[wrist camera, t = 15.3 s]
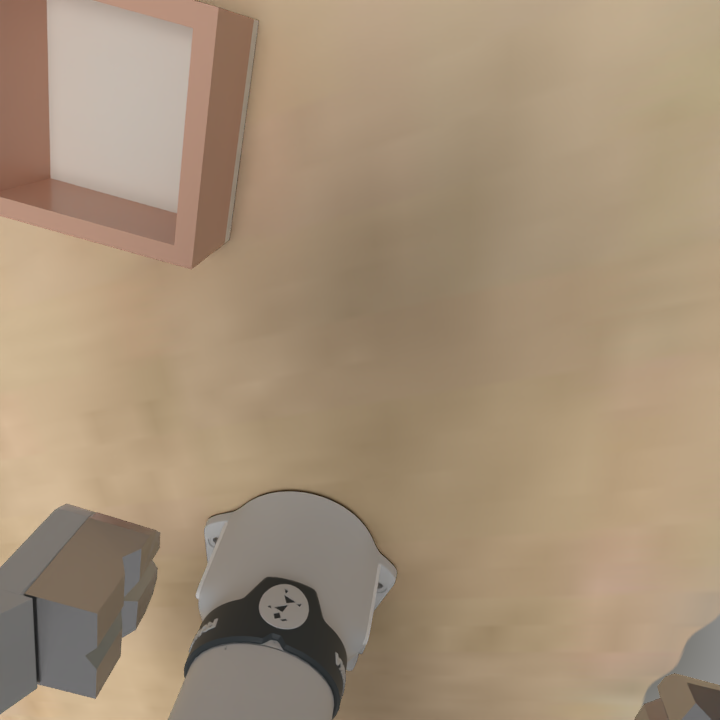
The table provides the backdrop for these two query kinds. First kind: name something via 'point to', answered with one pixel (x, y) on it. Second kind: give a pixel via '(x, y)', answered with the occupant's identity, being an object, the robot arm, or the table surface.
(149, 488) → the table surface
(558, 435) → the table surface
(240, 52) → the salmon open box
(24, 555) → the robot arm
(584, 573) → the table surface
